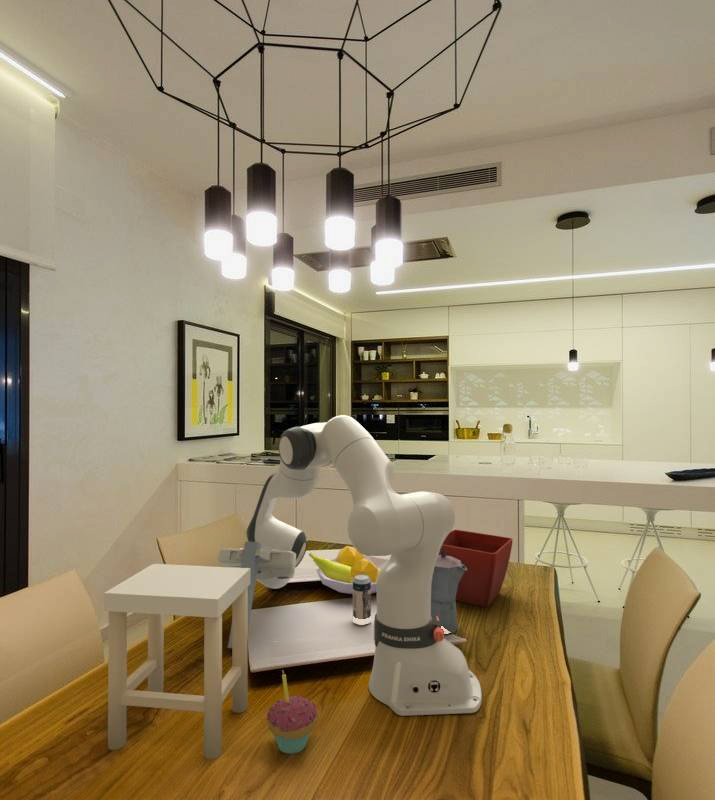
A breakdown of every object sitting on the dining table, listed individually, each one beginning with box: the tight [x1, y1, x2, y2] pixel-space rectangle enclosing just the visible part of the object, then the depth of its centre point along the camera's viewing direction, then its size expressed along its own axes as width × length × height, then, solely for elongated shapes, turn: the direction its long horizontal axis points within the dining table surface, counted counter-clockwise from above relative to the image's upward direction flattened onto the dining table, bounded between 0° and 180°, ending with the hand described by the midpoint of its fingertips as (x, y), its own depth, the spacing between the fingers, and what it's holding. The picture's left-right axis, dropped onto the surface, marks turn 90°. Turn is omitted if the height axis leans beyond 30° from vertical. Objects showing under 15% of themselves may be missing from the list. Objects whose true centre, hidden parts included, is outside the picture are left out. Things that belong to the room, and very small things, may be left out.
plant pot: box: [439, 529, 514, 608], centre depth 146 cm, size 19×19×17 cm
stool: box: [103, 563, 250, 761], centre depth 87 cm, size 20×15×26 cm
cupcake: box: [266, 669, 319, 754], centre depth 83 cm, size 9×8×12 cm
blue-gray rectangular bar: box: [227, 541, 261, 649], centre depth 119 cm, size 3×24×3 cm
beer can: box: [352, 574, 372, 619], centre depth 128 cm, size 5×5×12 cm
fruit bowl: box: [308, 545, 390, 595], centre depth 154 cm, size 28×27×11 cm
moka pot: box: [431, 550, 467, 634], centre depth 126 cm, size 10×15×20 cm, turn 58°
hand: (249, 552), depth 121 cm, fingers closed on blue-gray rectangular bar, 3 cm apart
